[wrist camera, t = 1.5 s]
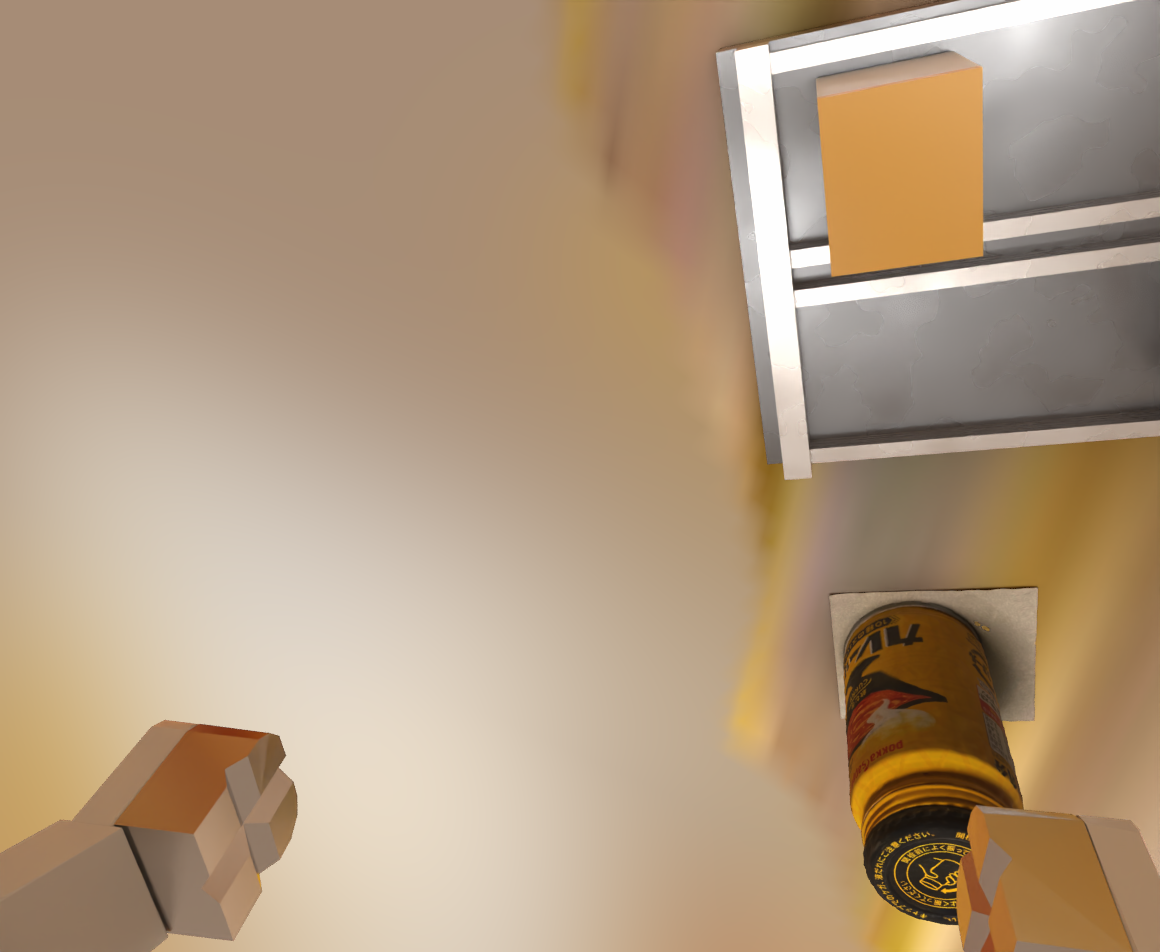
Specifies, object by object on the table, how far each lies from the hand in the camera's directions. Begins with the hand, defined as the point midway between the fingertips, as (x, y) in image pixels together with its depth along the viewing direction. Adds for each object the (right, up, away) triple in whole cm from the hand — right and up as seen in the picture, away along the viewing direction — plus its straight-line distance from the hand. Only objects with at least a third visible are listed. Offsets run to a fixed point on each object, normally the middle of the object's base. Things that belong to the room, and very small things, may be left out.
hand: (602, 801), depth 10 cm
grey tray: (+17, +13, +20) cm, 29 cm away
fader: (+10, +14, +18) cm, 25 cm away
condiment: (+16, -4, +30) cm, 34 cm away
